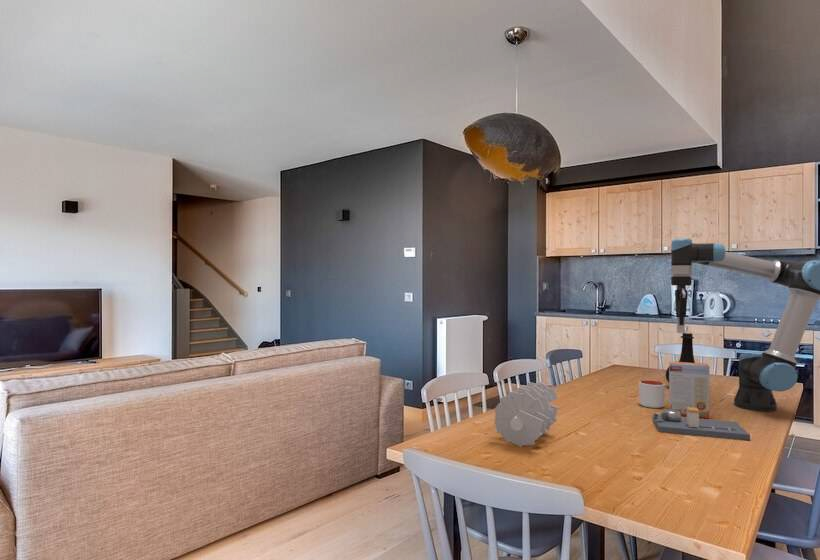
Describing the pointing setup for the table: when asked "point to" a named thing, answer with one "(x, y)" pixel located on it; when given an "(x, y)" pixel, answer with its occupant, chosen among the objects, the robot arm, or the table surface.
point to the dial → (668, 415)
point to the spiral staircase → (526, 413)
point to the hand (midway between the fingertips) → (680, 332)
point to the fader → (692, 417)
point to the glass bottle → (685, 351)
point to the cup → (652, 394)
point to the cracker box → (689, 387)
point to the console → (703, 428)
